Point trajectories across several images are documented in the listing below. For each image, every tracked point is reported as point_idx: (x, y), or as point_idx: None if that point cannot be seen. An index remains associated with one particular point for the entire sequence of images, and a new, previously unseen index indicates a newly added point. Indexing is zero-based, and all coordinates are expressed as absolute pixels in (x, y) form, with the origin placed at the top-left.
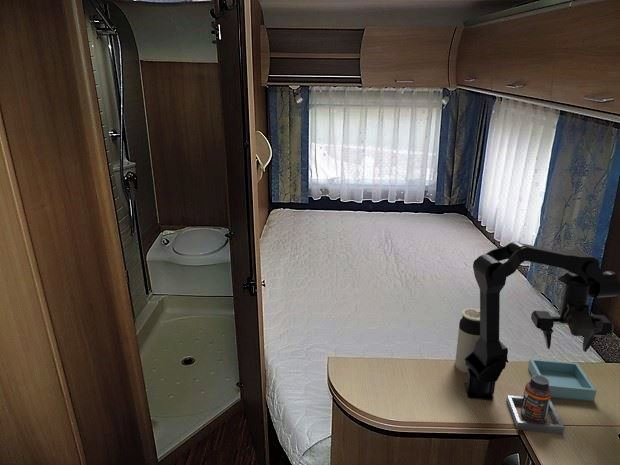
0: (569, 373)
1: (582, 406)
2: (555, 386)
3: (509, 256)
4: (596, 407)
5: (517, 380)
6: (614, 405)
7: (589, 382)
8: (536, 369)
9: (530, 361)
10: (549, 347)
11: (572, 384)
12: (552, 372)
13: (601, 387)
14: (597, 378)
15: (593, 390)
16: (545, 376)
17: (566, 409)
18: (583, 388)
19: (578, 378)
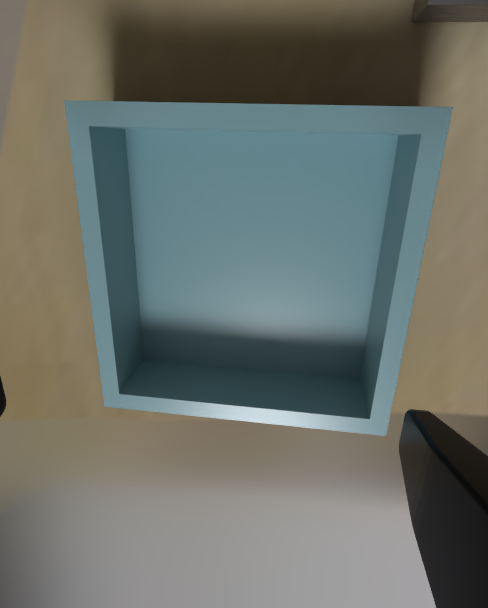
0: (163, 359)
1: (187, 61)
2: (357, 106)
3: None
4: (109, 66)
5: (484, 288)
6: (8, 108)
7: (86, 200)
8: (401, 320)
9: (387, 412)
10: (421, 420)
11: (180, 261)
12: (251, 361)
13: (37, 270)
14: (38, 341)
15: (84, 102)
16: (306, 323)
17: (302, 2)
18: (148, 111)
19: (133, 305)
